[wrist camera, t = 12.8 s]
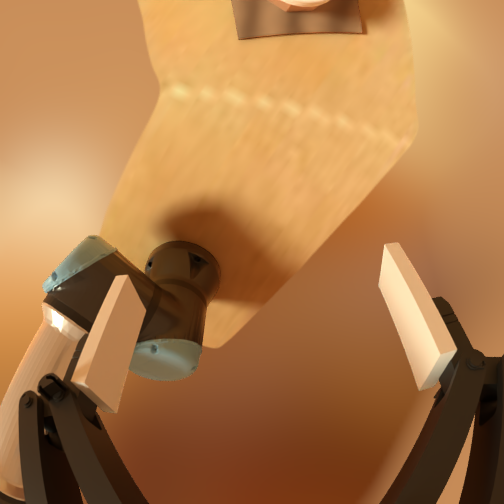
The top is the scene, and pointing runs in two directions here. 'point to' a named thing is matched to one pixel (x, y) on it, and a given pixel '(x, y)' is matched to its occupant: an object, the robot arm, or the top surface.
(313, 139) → the top surface
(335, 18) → the board
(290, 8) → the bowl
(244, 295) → the top surface
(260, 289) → the top surface
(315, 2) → the cream flat cylinder
